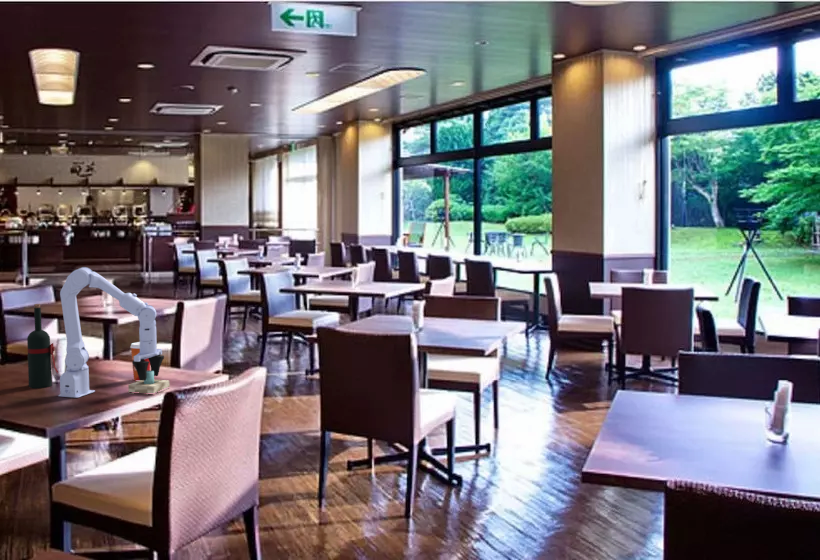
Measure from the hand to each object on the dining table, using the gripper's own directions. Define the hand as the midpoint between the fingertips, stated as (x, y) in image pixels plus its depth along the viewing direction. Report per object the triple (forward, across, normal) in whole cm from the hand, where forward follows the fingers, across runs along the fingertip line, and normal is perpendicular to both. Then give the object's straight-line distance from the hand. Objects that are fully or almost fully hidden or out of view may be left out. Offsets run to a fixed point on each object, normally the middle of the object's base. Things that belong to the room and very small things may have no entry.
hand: (148, 378), depth 280 cm
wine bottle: (+5, -4, +41) cm, 41 cm away
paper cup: (+5, +15, +13) cm, 20 cm away
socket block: (+5, 0, 0) cm, 5 cm away
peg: (+5, 0, 0) cm, 5 cm away
